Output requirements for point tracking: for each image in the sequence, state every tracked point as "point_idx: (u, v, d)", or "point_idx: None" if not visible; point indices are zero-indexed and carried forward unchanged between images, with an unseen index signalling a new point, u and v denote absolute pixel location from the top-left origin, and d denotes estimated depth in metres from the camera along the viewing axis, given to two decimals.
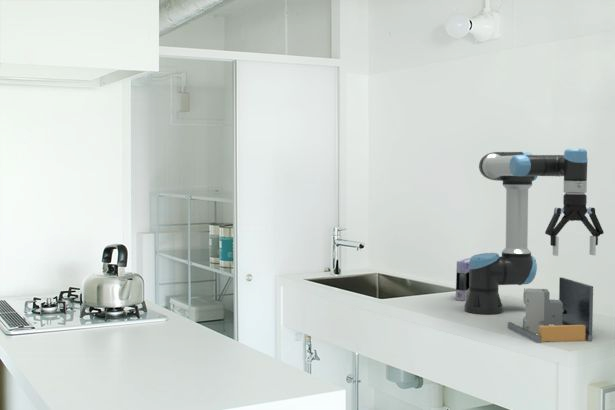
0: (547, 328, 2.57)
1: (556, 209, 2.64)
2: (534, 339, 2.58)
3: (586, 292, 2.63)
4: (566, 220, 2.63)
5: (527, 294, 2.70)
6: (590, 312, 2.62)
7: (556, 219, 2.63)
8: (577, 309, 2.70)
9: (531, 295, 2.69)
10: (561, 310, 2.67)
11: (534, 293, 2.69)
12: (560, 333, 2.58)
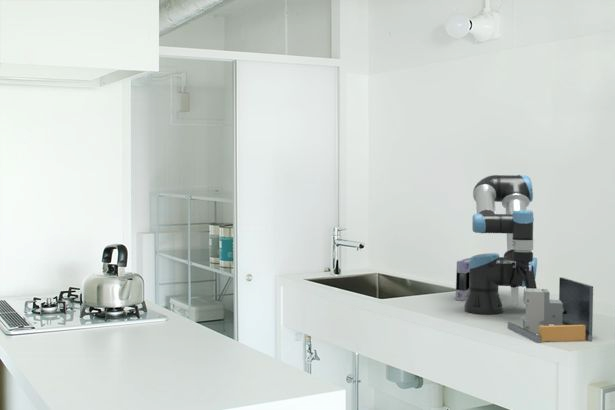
0: (547, 328, 2.57)
1: None
2: (534, 339, 2.58)
3: (586, 292, 2.63)
4: (514, 274, 2.94)
5: (527, 294, 2.70)
6: (590, 312, 2.62)
7: (511, 272, 2.98)
8: (577, 309, 2.70)
9: (531, 295, 2.69)
10: (561, 310, 2.67)
11: (534, 293, 2.69)
12: (560, 333, 2.58)
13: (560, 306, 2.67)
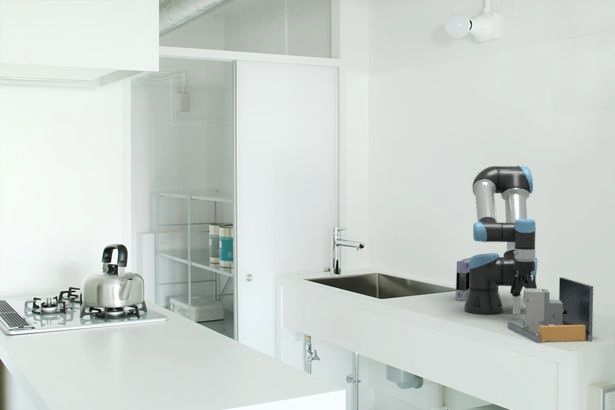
0: (547, 328, 2.57)
1: None
2: (534, 339, 2.58)
3: (586, 292, 2.63)
4: None
5: (527, 294, 2.70)
6: (590, 312, 2.62)
7: (513, 281, 2.96)
8: (577, 309, 2.70)
9: (531, 295, 2.69)
10: (561, 310, 2.67)
11: (534, 293, 2.69)
12: (560, 333, 2.58)
13: (560, 306, 2.67)
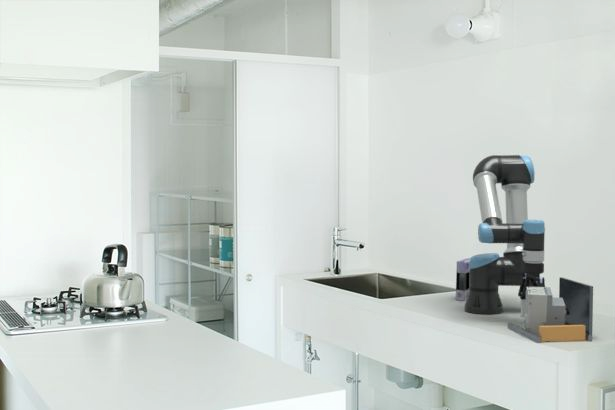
0: (547, 328, 2.57)
1: None
2: (534, 339, 2.58)
3: (586, 292, 2.63)
4: (524, 285, 2.85)
5: (530, 297, 2.65)
6: (590, 312, 2.62)
7: (521, 283, 2.88)
8: (577, 309, 2.70)
9: (534, 298, 2.65)
10: (564, 312, 2.64)
11: (537, 296, 2.64)
12: (560, 333, 2.58)
13: (563, 308, 2.64)
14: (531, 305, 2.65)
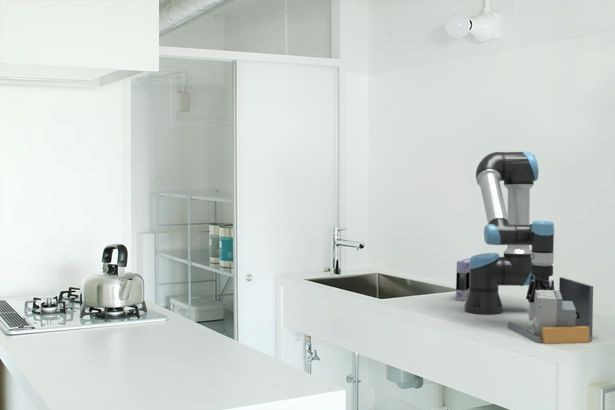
0: (550, 330, 2.55)
1: None
2: (534, 339, 2.58)
3: (586, 292, 2.63)
4: (533, 288, 2.78)
5: (539, 300, 2.58)
6: (590, 312, 2.62)
7: (529, 286, 2.81)
8: (577, 309, 2.70)
9: (543, 302, 2.58)
10: (574, 316, 2.57)
11: (546, 300, 2.57)
12: (563, 334, 2.56)
13: (573, 312, 2.57)
14: (540, 309, 2.59)
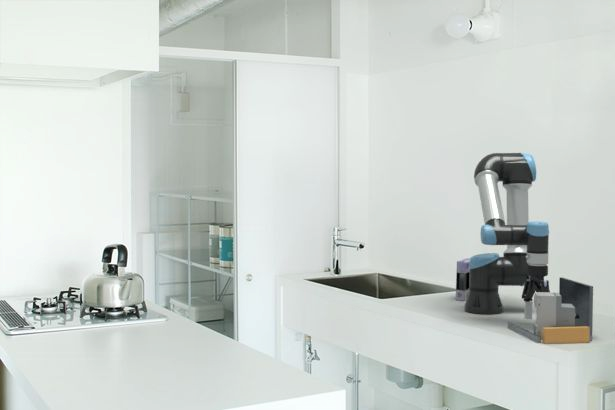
0: (551, 330, 2.55)
1: None
2: (534, 339, 2.58)
3: (586, 292, 2.63)
4: (528, 288, 2.82)
5: (538, 298, 2.61)
6: (590, 312, 2.62)
7: (525, 285, 2.85)
8: (577, 309, 2.70)
9: (542, 299, 2.61)
10: (573, 314, 2.59)
11: (546, 297, 2.60)
12: (564, 334, 2.55)
13: (572, 310, 2.59)
14: (540, 307, 2.61)
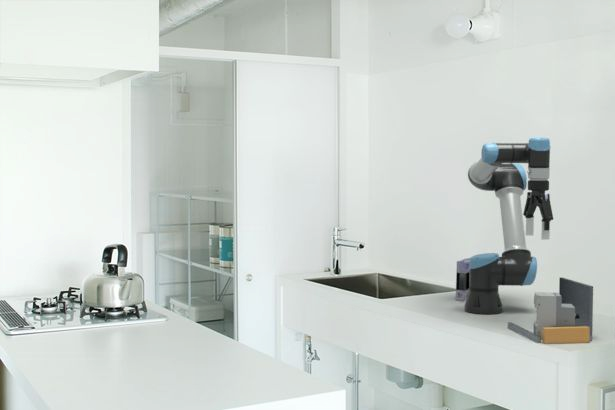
0: (551, 330, 2.55)
1: None
2: (534, 339, 2.58)
3: (586, 292, 2.63)
4: (529, 203, 2.87)
5: (538, 298, 2.61)
6: (590, 312, 2.62)
7: (526, 202, 2.90)
8: (577, 309, 2.70)
9: (542, 299, 2.61)
10: (573, 314, 2.59)
11: (546, 297, 2.60)
12: (564, 334, 2.55)
13: (572, 310, 2.59)
14: (540, 307, 2.61)
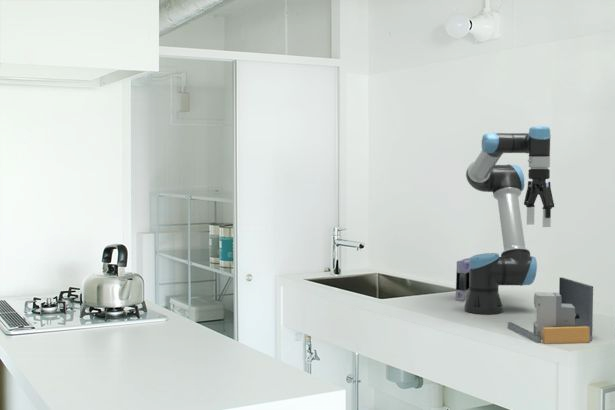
0: (551, 330, 2.55)
1: None
2: (534, 339, 2.58)
3: (586, 292, 2.63)
4: (530, 192, 2.89)
5: (538, 298, 2.61)
6: (590, 312, 2.62)
7: (527, 191, 2.92)
8: (577, 309, 2.70)
9: (542, 299, 2.61)
10: (573, 314, 2.59)
11: (546, 297, 2.60)
12: (564, 334, 2.55)
13: (572, 310, 2.59)
14: (540, 307, 2.61)
